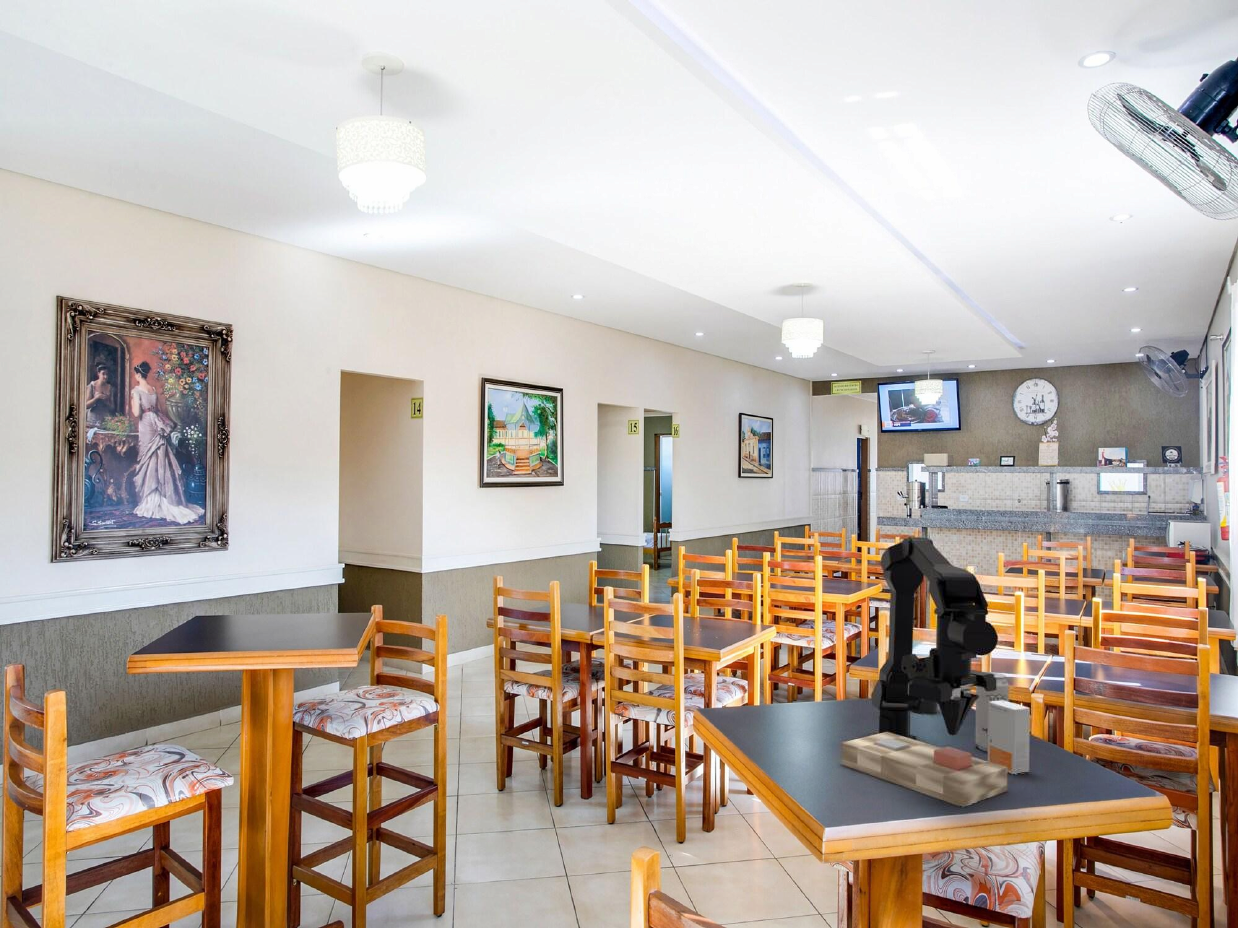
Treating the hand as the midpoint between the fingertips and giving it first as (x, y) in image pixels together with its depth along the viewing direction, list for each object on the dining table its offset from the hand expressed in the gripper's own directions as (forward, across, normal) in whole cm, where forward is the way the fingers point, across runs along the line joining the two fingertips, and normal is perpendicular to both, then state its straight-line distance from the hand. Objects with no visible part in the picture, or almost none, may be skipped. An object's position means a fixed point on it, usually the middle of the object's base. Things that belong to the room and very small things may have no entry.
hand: (952, 734), depth 137 cm
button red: (+6, 0, 0) cm, 6 cm away
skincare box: (+9, -19, 0) cm, 21 cm away
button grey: (+8, 0, -12) cm, 14 cm away
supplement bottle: (+9, -43, -33) cm, 55 cm away
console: (+9, 0, -6) cm, 11 cm away
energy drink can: (+9, -28, -8) cm, 31 cm away
